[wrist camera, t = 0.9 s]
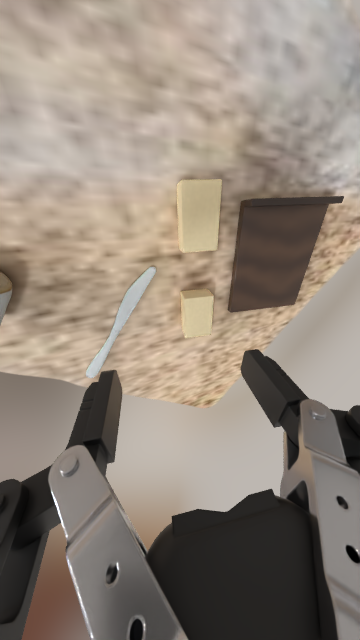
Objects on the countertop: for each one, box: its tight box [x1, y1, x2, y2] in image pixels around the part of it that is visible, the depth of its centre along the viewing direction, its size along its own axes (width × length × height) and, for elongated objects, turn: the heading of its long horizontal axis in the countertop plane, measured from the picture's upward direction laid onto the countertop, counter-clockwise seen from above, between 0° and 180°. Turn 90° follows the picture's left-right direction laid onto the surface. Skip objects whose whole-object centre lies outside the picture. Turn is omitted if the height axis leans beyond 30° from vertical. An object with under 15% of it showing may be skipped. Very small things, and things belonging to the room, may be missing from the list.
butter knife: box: [86, 267, 156, 378], centre depth 32 cm, size 1×27×3 cm
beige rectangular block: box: [177, 179, 222, 253], centre depth 24 cm, size 8×5×4 cm, turn 2°
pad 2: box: [181, 289, 214, 338], centre depth 31 cm, size 8×5×4 cm, turn 2°
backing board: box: [228, 196, 344, 312], centre depth 29 cm, size 18×14×3 cm
